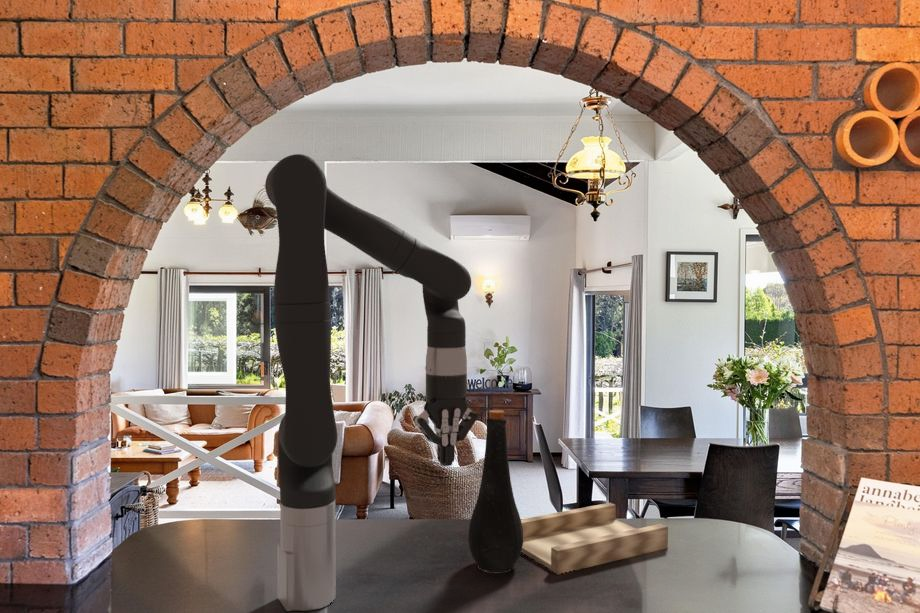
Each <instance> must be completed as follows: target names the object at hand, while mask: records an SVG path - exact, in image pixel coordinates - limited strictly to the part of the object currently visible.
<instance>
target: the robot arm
mask: <svg viewBox="0 0 920 613" xmlns="http://www.w3.org/2000/svg"><path fill="white" fill-rule="evenodd" d="M264 188H265V192H266V195H267V198H268V199H269V201H270V203H271V204H272V205H273V206H274V207H275V212H276V221H277V228H278V229H277V231H278V251H277V252H278V254H277V260H276V266H275V274H274V275H275V276H274V284H273V285H274V288H273V289H274V290H273V309H274V310H273V311H274V312H273V314H274V328H275V329H274V330H275V336H276V343H277V348H278V349H277V350H278V354H279V360H280V363H281V368H282V373H283V378H284V383H285V384H284V385H285V403H284V404H285V405H284V406H285V407H284V408H285V412H284V416H283V417H282V419H281V420H280V423H279V426H278V435H277V436H278V437H277V438H278V439H277V440H278V441H277V445H278V447H277V450H278V455H277V456H278V483H279V484H278V485H279V499H280V505H279V507H280V508H279V510H280V527H279V528H280V542H278V544H277V546H276V554H277V555H276V563H277V564H276V570H277V571H276V572H277V576H276V577H277V578H276V582H277V589H276V590H277V592H276V593H277V599H278V601H279V602H280V604H281V605H282V606H283V608H284V609H285V611H286V612H291V611H302V612H303V611H314V610H318V609H323V608H324V607H327V606H329V605H330V603H331V602H332V603H333V602H334V601H335V600H334V599H336V589H337V587H336V586H337V585H336V584H337V583H336V484H335V483H336V482H335V476H334V468H333V454H334V452H335V449H336V447H337V443H338V428H337V423H336V418H335V417H336V416H335V411H334V404H333V397H332V389H331V356H332V318H331V316H332V315H331V310H332V309H331V296H330V295H331V294H330V285H329V284H330V283H329V275H328V273H329V272H328V263H327V255H326V246H325V230H326V231H328V232H330V233H331V234H333V235H335V236H337V237H338V238H340V239H342V240H344V241H346V242H347V243H349V245H352V246H353V247H355V248H356V249H358V250H359V251H361V252H363V253H364V254H365V255H367V256H369V257H370V258H372V259H373V260H375V261H376V262H378V263H380V264H381V265H383V266H384V267H386V268H388V269H389V270H391V271H392V272H395V273H396V274H398V275H400V276H402V277H404V278H408V279H412V280H414V281H415V282H417V283H419V284H421V285H422V298H423V304H424V312H425V315H426V320H427V331H426V332H427V333H426V334H427V335H426V336H427V340H426V345H427V346H426V347H427V348H426V354H425V367H424V368H425V369H424V370H425V398H426V401H425V404H424V406H423V411H422V412H421V413H420V414H419V415H414V416H413V418H412V422H413V423H414V424H415V425H416V426H417V427H418V429H419V430H420V432H421V433H422V434H423V436H424V437H425V438H426V440H427V441H428V442H431V443H433V444H434V445H437V447H436V448H437V451H436V452H437V453H436V454H437V455H436V456H437V462H438V463H439V464H440V465H441V466H443V467H447V466H452V465H453V463H454V462H455V459H456V458H455V456H456V455H455V454H456V453H455V448H456V447H455V446H456V444H457V443H458V442H460V441H463V442H464V440H465V439H466V437H467V436H468V434H469V432H470V430H471V429H472V427H473V426H474V424H475V423H476V421H477V420H478V418H479V413H477V412H475V411H473V410H472V409H471V408H469V403H468V401H467V394H468V391H467V390H468V389H467V388H468V380H467V379H468V372H467V371H468V360H467V349H466V332H467V330H466V320H465V319H464V317H463V316H462V315H461V313H460V310H459V308H460V307H459V300H461V299H463V298H464V297H466V296H467V294H469V292H470V290H471V287H472V277H471V275H470V272H469V271H468V269H467V268H466V267H465V266H464V265H463V264H462V263H460V262H459V261H458V260H456V259H454V258H452V257H450V256H449V255H447V254H444V253H443V252H441V251H439V250H436V249H433V248H432V247H430V246H428V245H426V244H424V243H422V242H421V241H420V240H419V239H417V238H416V237H414V236H413V235H411V234H410V233H408V232H406V231H405V230H403V229H402V228H400V227H399V226H397V225H396V224H393V223H392V222H390V221H388V220H386V219H384V218H382V217H380V216H377V215H376V214H374V213H371V212H369V211H367V210H364V209H362V208H360V207H358V206H357V205H354V204H352V203H351V202H350V201H347V200H346V199H344V198H343V197H341V196H339V195H338V193H335V192H334V191H333V190H332V189H330V187H328V185H327V178H326V175H325V172H324V169H323V168H322V167H321V166H320V164H319V163H318V162H317V161H316V160H315V159H314V158H312V157H311V156H309V155H305V154H302V153H299V154H298V153H297V154H296V153H295V154H291V155H290V154H289V155H288V156H286V157H283V158H282V159H280V160H279V161H278V162H277V163H276V164H274V166H273V167H272V168H271V169H270V171H269V172H268V174H267V176H266V178H265V186H264ZM430 421H431V423H432V424H433V428H434V429H432V427H431V426H430ZM333 600H334V601H333ZM332 603H331V604H332Z"/></svg>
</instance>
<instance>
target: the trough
mask: <svg viewBox="0 0 920 613" xmlns="http://www.w3.org/2000/svg"><path fill="white" fill-rule="evenodd" d="M616 510H617V505H616V504H615V503H612V502H607V503H606V502H605V503H600V504H597V505H596V504H595V505H594V504H593V505H590V506H585V507H581V508H574V509H569V510H564V511H558V512H553V513H549V514H543V515H538V516H532V517H526V518H520V519H521V523H522V528H523V546H522V550H521V552H523V553H524V554H526V555H527V556H529V557H530V558H532V559H534V560H536V561H537V562H539V563H540V564H542V565H544V566H545V567H547V568H549V569H550V570H551V571H550V570H549V569H548V570H549V571H550V572H552V571H553V572H552V573H554V574H555V573H556V575H562V574H561V573H563V574H566V573H565V572H567V573H570V572H569V571H571V572H574V571H573V570H575V571H578V570H583V569H586V568H591V567H594V566H601V565H603V564H607V563H611V562H612V563H613V562H617V561H619V560H621V561H622V560H624V559H628V558H633V557H636V556H641V555H644V554H649V553H654V552H658V551H662V550H666V549H668V548H669V547H668V546H669V541H668V540H669V526H668V525H665V524H663V523H658V524H653V525H648V526H644V527H639V528H636V527H633V526H631V525H629V524H627V523H625V522H622V521H620V520H617V517H616V514H617V512H616ZM524 554H523V555H524ZM527 556H526V557H527ZM529 557H528V558H529ZM530 558H529V559H530ZM532 559H531V560H532ZM534 560H533V561H534ZM537 562H536V563H537ZM539 563H538V564H539ZM540 564H539V565H540ZM542 565H541V566H542ZM544 566H543V567H544ZM545 567H544V568H545ZM547 568H546V569H547ZM582 568H583V569H582Z"/></svg>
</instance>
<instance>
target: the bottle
mask: <svg viewBox="0 0 920 613" xmlns="http://www.w3.org/2000/svg"><path fill="white" fill-rule="evenodd" d="M488 415H489V417H488V418H486V436H485V437H486V438H485V449H484V450H485V451H484V459H483V460H484V461H483V468H482V473H481V482H480V486H479V491H478V496H477V500H476V503H475V506H474V508H473V511H472V514H471V517H470V521H469V526H468V536H467V538H468V546H469V552H470V553H471V557H472V558H473V560H474V562H475V563H476V566H477V565H478V566H479V568H481V569H483V570H487V571H489V572H505V571H508V570H510V569H512V568H513V567H514V568H515V564H516V563H517V561H518V560H519V558H520V556H521V554H522V553H521V550H522V546H523V528H522V523H521V519H522V518H521V516H520V512H519V511H518V510H519V509H518V507H517V504H516V501H515V500H516V499H515V497H514V492H513V487H512V486H513V485H512V481H511V473H510V464H509V455H508V439H507V418H504V417H505V410H502V409H492V410H491V409H490V410H488ZM479 568H478V569H479ZM514 568H513V569H514Z"/></svg>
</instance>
